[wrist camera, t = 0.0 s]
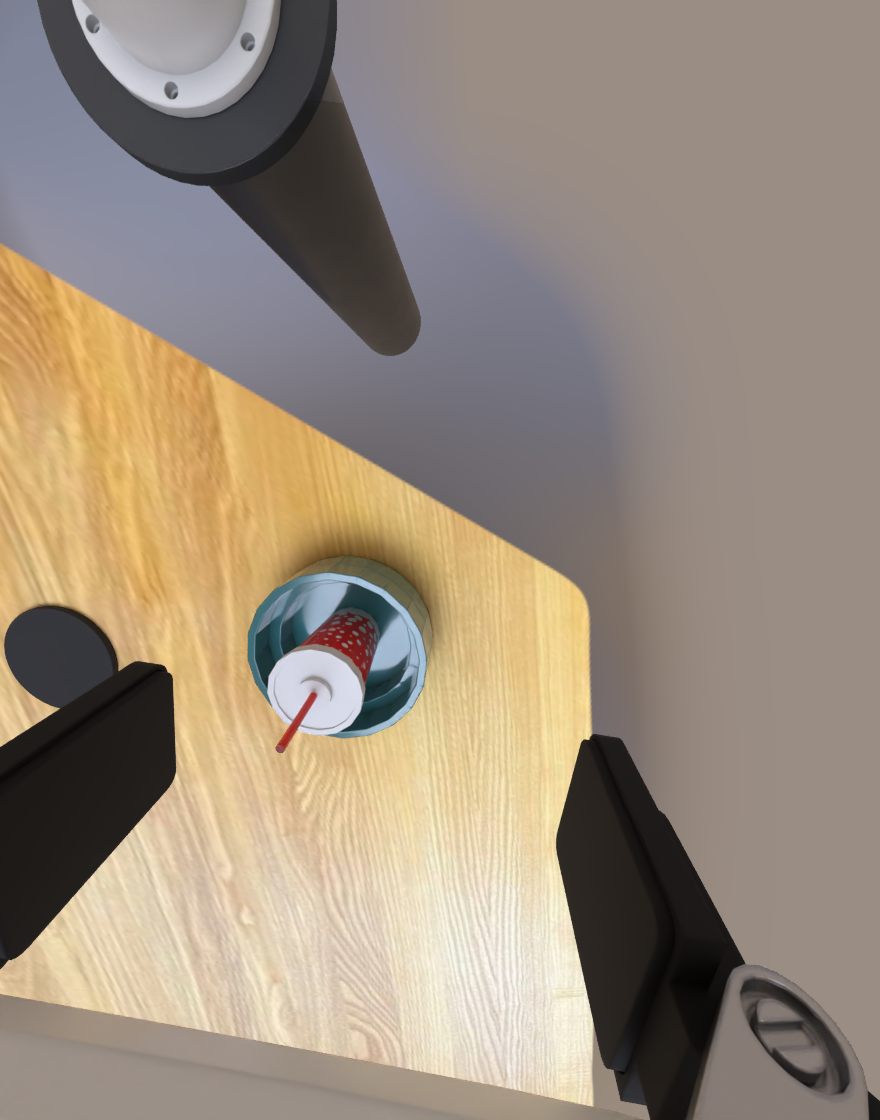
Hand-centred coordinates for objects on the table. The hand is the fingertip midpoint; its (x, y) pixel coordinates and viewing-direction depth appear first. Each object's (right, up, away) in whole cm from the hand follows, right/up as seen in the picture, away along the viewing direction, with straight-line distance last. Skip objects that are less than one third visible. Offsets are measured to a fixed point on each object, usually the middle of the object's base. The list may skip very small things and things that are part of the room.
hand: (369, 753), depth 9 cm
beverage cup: (-6, -2, +26) cm, 27 cm away
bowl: (-6, -2, +26) cm, 27 cm away
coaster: (-32, -4, +29) cm, 43 cm away
